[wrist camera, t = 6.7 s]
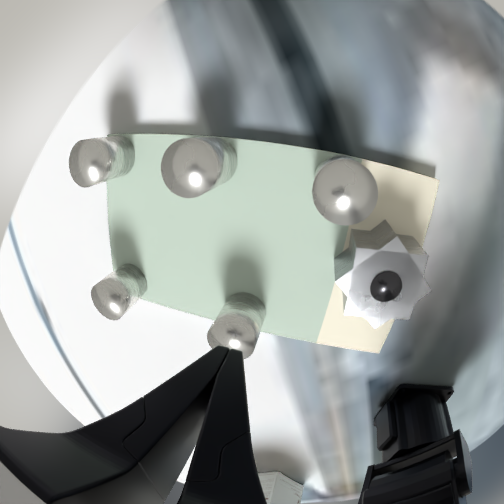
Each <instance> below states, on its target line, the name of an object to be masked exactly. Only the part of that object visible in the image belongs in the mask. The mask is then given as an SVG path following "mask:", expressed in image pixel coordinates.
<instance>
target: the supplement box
mask: <svg viewBox="0 0 504 504" xmlns="http://www.w3.org/2000/svg"><path fill="white" fill-rule="evenodd" d="M258 476H259V479H260V483H261V486H262V489H263V492H264V496H265V499H266V502H267V504H300V502H301V497H302V492H303V487H304V486H303V485H301V484H299V483H297V482H295V481H293V480H291V479H290V478H288V477H286V476H285V475H283V474H282V473H280V472H279V471H276V472H265V473H258Z"/></svg>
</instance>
